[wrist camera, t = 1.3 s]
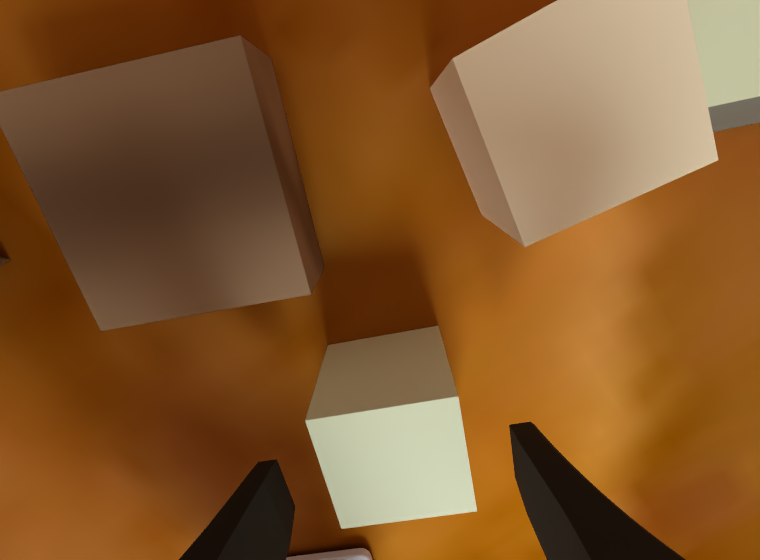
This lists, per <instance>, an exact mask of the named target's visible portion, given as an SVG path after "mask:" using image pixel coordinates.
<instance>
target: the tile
mask: <svg viewBox="0 0 760 560" xmlns="http://www.w3.org/2000/svg"><path fill="white" fill-rule="evenodd" d="M687 2H688V8H689V13H690V18H691V23H692V28H693V33H694V38H695V43H696V48H697V54H698V59H699V64H700V69H701V74H702V79H703V84H704V89H705V94H706V99H707V105H708V110H709V115H710V120H711V125H712V130H713V132H715V131H720V130H725V129H729V128H734V127H739V126H744V125H749V124H754V123H758V122H760V0H687Z"/></svg>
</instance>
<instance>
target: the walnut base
mask: <svg viewBox="0 0 760 560" xmlns="http://www.w3.org/2000/svg"><path fill="white" fill-rule="evenodd" d="M0 127H1V129H2V131H3V133H4V135H5V137H6V139H7V141H8V143H9V145H10V147H11V149H12V151H13V153H14V156H15V158H16V160H17V162H18V164H19V166H20V168H21V170H22V172H23V174H24V176H25V178H26V180H27V182H28V184H29V186H30V188H31V190H32V192H33V194H34V196H35V198H36V200H37V202H38V204H39V206H40V208H41V211H42V213H43V215H44V217H45V219H46V221H47V223H48V225H49V227H50V229H51V231H52V233H53V235H54V237H55V239H56V241H57V243H58V245H59V247H60V249H61V251H62V253H63V255H64V257H65V259H66V261H67V263H68V265H69V268H70V270H71V272H72V274H73V276H74V278H75V280H76V282H77V284H78V286H79V288H80V290H81V292H82V294H83V296H84V298H85V300H86V302H87V304H88V306H89V308H90V310H91V312H92V314H93V316H94V318H95V320H96V323H97V325H98V327H99V329H100V331H105V330H111V329H117V328H122V327H128V326H134V325H140V324H145V323H151V322H157V321H162V320H168V319H174V318H180V317H185V316H191V315H197V314H202V313H208V312H214V311H220V310H225V309H231V308H237V307H242V306H248V305H254V304H260V303H265V302H271V301H277V300H282V299H288V298H294V297H300V296H305V295H311V294H312V292H313V290H314V288H315V286H316V284H317V282H318V280H319V278H320V276H321V274H322V272H323V270H324V264H323V260H322V256H321V252H320V248H319V244H318V241H317V237H316V233H315V229H314V225H313V221H312V217H311V213H310V209H309V205H308V201H307V197H306V193H305V189H304V185H303V181H302V178H301V174H300V170H299V166H298V162H297V158H296V154H295V150H294V146H293V142H292V138H291V134H290V130H289V126H288V122H287V118H286V114H285V111H284V107H283V103H282V99H281V95H280V91H279V87H278V83H277V79H276V75H275V71H274V67H273V63H272V59H271V58H270V57H269V56H267V55H266V54H265V53H263V52H262V51H261V50H259V49H258V48H257V47H255V46H254V45H253V44H251V43H250V42H249V41H247V40H246V39H245V38H243V37H242V36H241V35H239V36H235V37H230V38H226V39H222V40H218V41H213V42H209V43H205V44H201V45H196V46H192V47H188V48H184V49H179V50H175V51H171V52H166V53H162V54H158V55H154V56H149V57H145V58H141V59H137V60H132V61H128V62H124V63H120V64H115V65H111V66H107V67H103V68H98V69H94V70H90V71H86V72H81V73H77V74H73V75H68V76H64V77H60V78H56V79H51V80H47V81H43V82H39V83H34V84H30V85H26V86H22V87H17V88H13V89H9V90H5V91H0Z"/></svg>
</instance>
